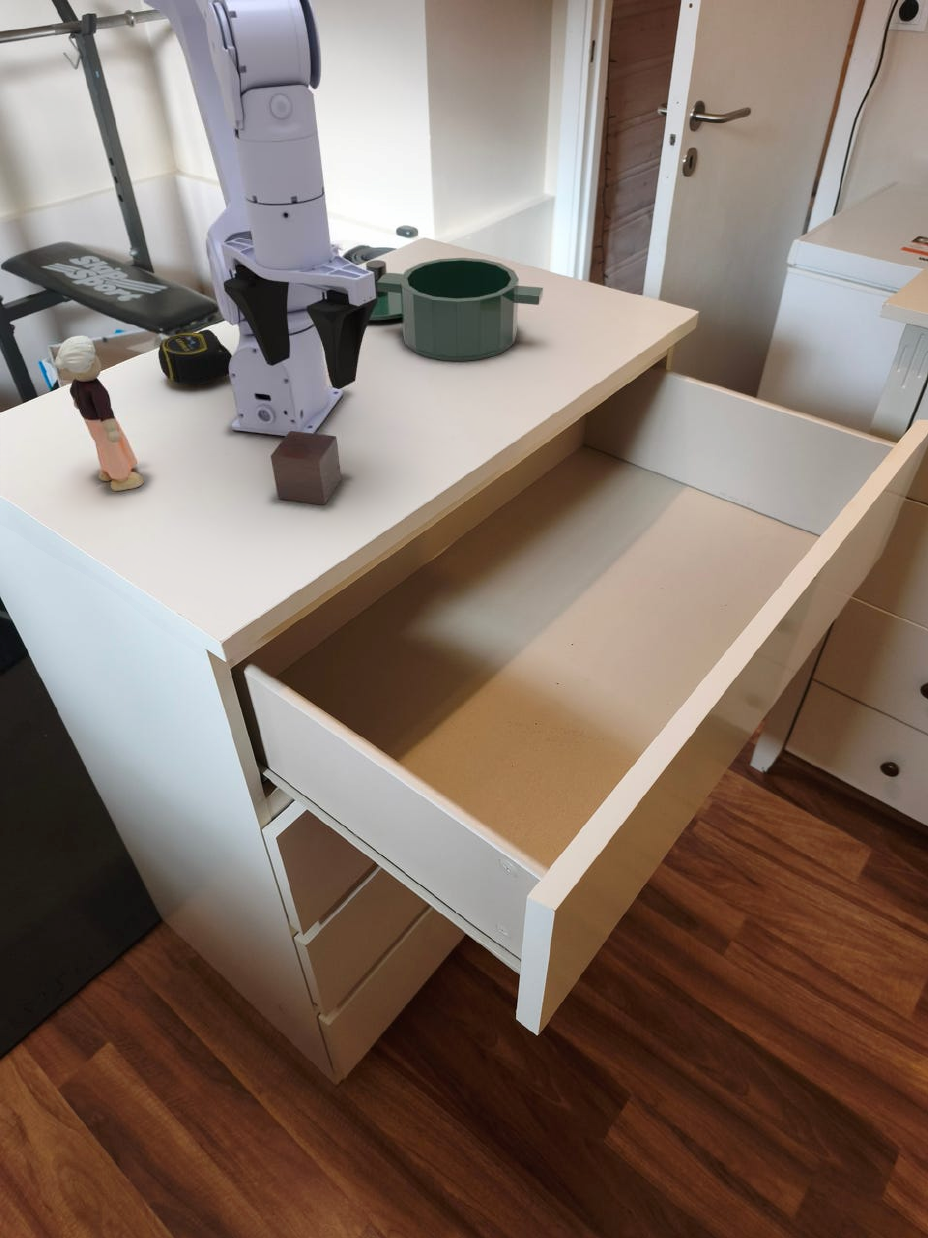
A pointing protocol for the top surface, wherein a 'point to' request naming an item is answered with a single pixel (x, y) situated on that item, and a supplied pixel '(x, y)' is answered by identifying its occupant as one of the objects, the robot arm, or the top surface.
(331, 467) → the block
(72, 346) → the grandmother figurine
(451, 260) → the pot
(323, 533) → the top surface
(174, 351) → the tape measure
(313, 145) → the robot arm
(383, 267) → the pot lid
